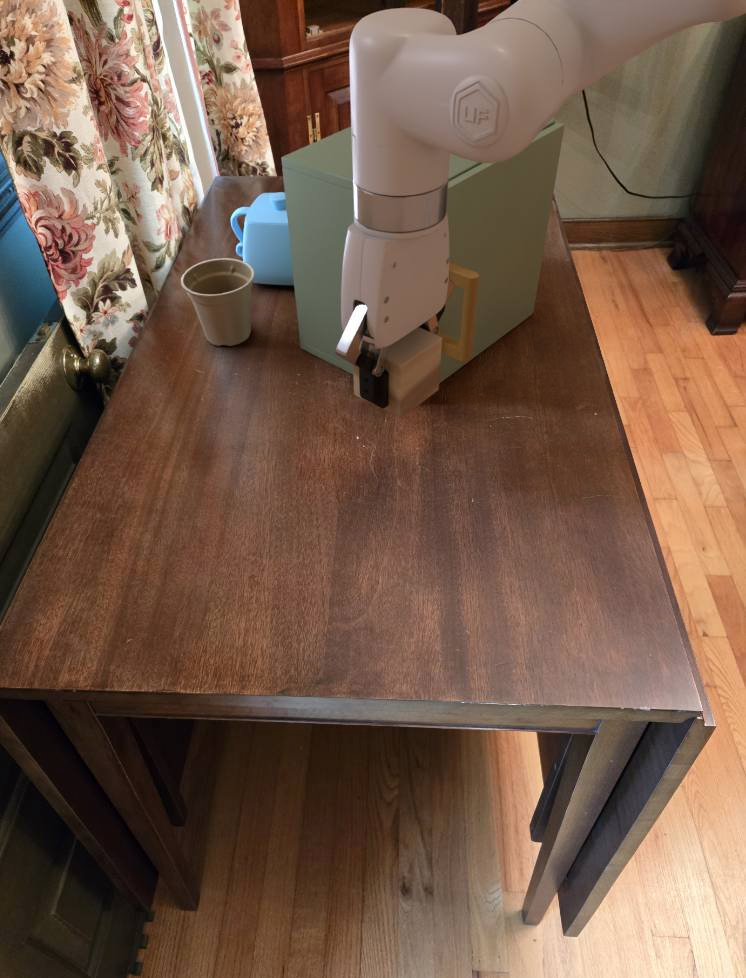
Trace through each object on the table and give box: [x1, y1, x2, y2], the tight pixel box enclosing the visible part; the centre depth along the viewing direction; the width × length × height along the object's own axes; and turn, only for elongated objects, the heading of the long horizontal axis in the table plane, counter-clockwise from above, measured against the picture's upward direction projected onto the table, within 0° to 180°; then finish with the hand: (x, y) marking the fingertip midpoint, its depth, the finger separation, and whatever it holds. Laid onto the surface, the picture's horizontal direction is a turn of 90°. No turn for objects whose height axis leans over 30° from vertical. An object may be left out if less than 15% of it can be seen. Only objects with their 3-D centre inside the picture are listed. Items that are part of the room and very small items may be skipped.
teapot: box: [230, 191, 294, 286], centre depth 106 cm, size 12×18×12 cm
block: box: [352, 327, 442, 420], centre depth 70 cm, size 6×6×6 cm
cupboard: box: [281, 119, 556, 375], centre depth 89 cm, size 18×26×24 cm
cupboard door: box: [438, 122, 566, 384], centre depth 83 cm, size 6×26×24 cm, turn 137°
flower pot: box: [180, 257, 254, 347], centre depth 96 cm, size 9×9×9 cm
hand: (396, 384), depth 71 cm, fingers closed on block, 6 cm apart
